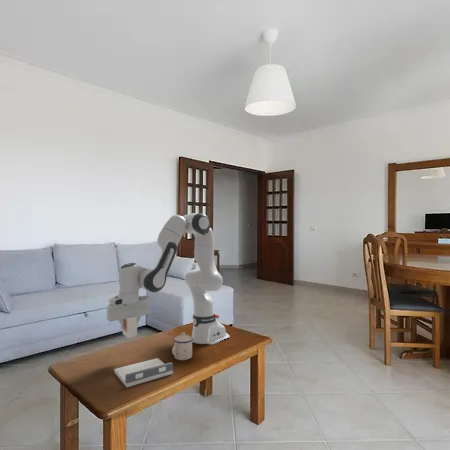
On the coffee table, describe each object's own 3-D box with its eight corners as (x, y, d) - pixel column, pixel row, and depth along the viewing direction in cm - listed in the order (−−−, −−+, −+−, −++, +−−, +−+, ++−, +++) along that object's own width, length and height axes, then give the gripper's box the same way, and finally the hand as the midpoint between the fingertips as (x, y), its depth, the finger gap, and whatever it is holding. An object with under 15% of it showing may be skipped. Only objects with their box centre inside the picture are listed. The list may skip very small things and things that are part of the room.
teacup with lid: (182, 351, 160) (182, 328, 160) (196, 355, 155) (196, 331, 155) (165, 359, 150) (165, 335, 150) (180, 364, 145) (180, 339, 145)
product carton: (137, 335, 148) (136, 316, 148) (127, 338, 145) (126, 318, 145) (132, 331, 153) (131, 313, 153) (122, 334, 151) (121, 315, 151)
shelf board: (157, 361, 149) (157, 351, 149) (173, 374, 135) (173, 363, 135) (114, 372, 137) (114, 362, 137) (126, 387, 124) (127, 376, 124)
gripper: (147, 293, 158) (147, 321, 158) (105, 299, 146) (105, 329, 146) (152, 295, 153) (152, 324, 153) (109, 302, 141) (109, 333, 141)
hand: (129, 327), depth 149 cm, fingers closed on product carton, 5 cm apart
